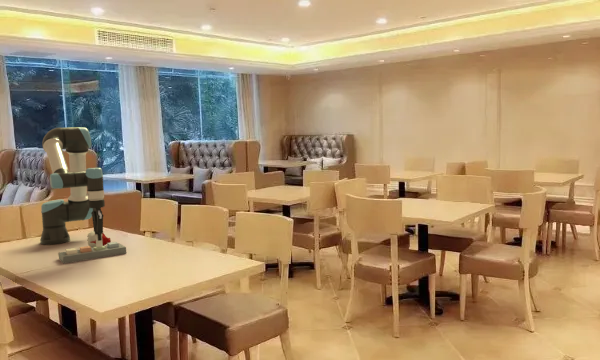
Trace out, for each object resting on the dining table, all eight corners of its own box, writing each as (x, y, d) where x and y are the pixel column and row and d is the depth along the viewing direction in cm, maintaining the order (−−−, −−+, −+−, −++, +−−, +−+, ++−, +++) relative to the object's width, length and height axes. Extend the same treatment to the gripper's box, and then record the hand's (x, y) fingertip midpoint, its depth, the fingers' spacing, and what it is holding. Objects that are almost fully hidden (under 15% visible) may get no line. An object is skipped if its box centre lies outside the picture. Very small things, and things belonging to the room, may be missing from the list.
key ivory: (65, 254, 244) (65, 249, 244) (75, 253, 247) (75, 247, 246) (67, 256, 241) (67, 250, 240) (77, 254, 243) (77, 249, 243)
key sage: (94, 252, 252) (93, 247, 252) (103, 250, 254) (102, 245, 254) (96, 253, 248) (96, 248, 248) (105, 252, 251) (105, 247, 251)
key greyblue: (107, 248, 255) (107, 243, 255) (116, 246, 258) (116, 241, 258) (109, 249, 252) (109, 244, 252) (118, 248, 254) (118, 243, 254)
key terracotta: (80, 252, 248) (79, 247, 248) (89, 250, 250) (89, 245, 250) (82, 254, 244) (81, 248, 244) (91, 252, 247) (91, 247, 247)
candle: (89, 244, 275) (116, 247, 274) (78, 248, 264) (106, 252, 263) (90, 227, 274) (116, 230, 273) (79, 231, 263) (107, 235, 262)
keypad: (58, 259, 246) (58, 252, 245) (119, 249, 262) (119, 243, 262) (63, 263, 237) (63, 256, 236) (126, 253, 253) (126, 247, 253)
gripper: (84, 199, 252) (88, 245, 254) (91, 201, 241) (94, 250, 243) (100, 197, 256) (103, 243, 258) (107, 199, 246) (111, 247, 248)
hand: (99, 246), depth 251 cm, fingers closed
